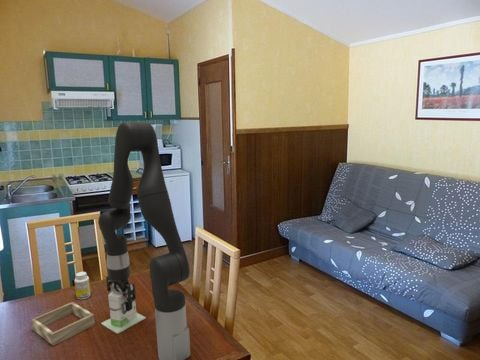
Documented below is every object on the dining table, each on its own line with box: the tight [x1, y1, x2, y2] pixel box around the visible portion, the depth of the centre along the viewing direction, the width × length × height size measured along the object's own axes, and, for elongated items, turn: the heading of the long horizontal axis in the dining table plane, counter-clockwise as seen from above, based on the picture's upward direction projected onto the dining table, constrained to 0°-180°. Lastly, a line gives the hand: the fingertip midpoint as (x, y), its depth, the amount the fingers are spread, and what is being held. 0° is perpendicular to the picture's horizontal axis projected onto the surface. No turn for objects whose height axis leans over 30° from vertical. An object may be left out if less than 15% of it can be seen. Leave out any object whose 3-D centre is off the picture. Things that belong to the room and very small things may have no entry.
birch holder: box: [30, 301, 96, 346], centre depth 134 cm, size 15×15×4 cm
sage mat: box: [100, 312, 146, 335], centre depth 138 cm, size 10×12×1 cm
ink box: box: [107, 290, 137, 327], centre depth 136 cm, size 9×5×12 cm, turn 156°
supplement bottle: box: [73, 271, 92, 300], centre depth 155 cm, size 6×6×10 cm
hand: (122, 306), depth 137 cm, fingers open, 8 cm apart
